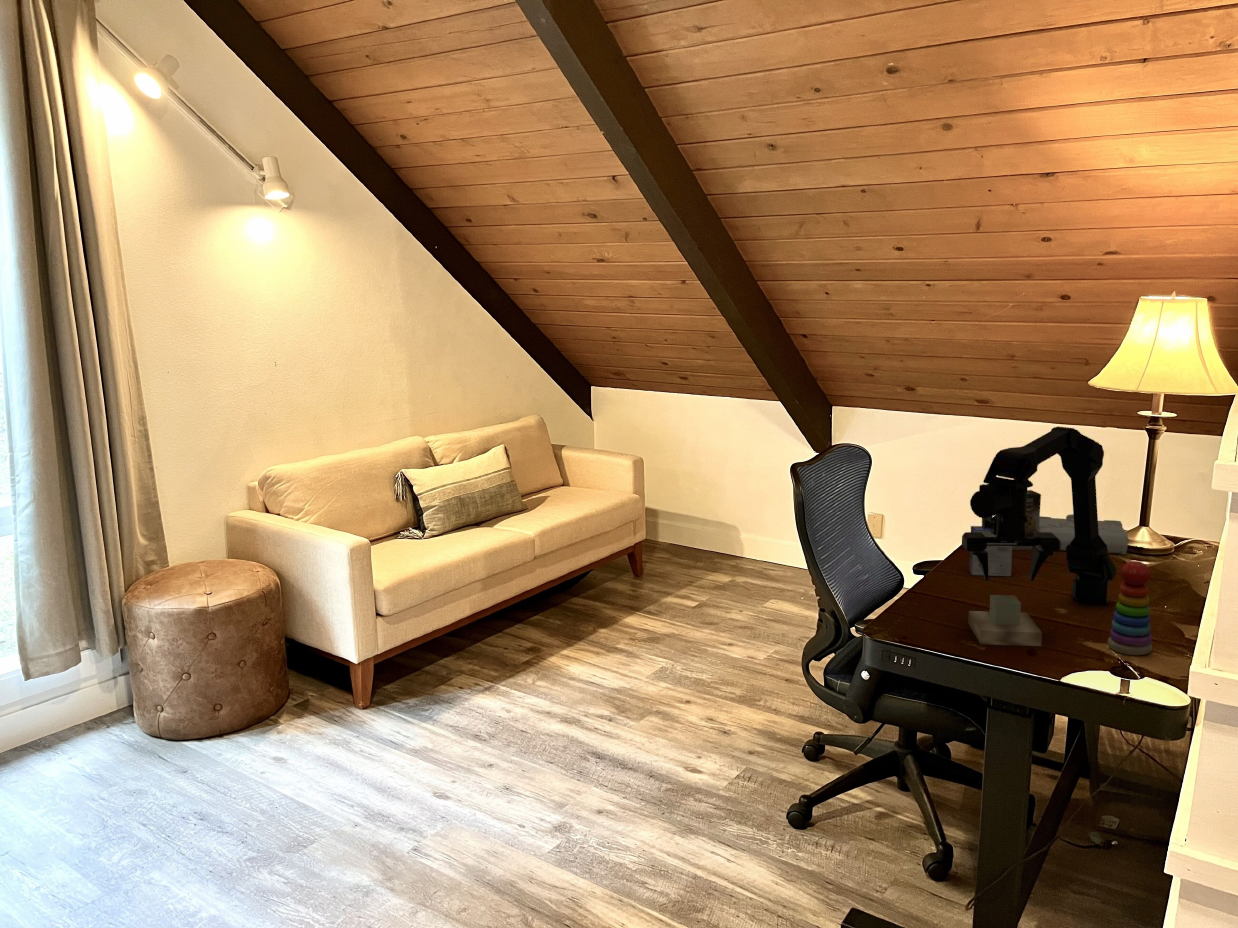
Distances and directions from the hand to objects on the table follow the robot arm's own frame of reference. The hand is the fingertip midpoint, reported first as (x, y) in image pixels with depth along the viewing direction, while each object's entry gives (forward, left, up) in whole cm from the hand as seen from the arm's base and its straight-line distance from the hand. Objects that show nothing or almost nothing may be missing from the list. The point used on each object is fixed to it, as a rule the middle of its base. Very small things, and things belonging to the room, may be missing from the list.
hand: (1008, 580), depth 196 cm
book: (-39, -71, -12) cm, 82 cm away
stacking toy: (-22, +8, -12) cm, 26 cm away
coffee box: (-19, -67, -12) cm, 71 cm away
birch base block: (+1, +2, -12) cm, 12 cm away
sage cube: (+1, +2, -9) cm, 9 cm away
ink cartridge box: (-6, -42, -12) cm, 44 cm away
